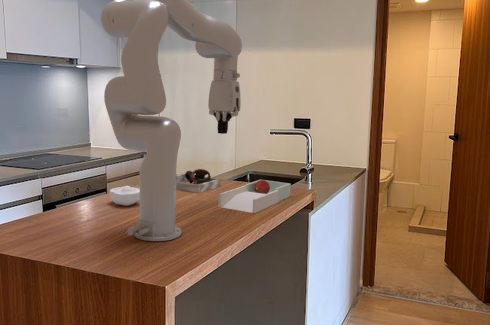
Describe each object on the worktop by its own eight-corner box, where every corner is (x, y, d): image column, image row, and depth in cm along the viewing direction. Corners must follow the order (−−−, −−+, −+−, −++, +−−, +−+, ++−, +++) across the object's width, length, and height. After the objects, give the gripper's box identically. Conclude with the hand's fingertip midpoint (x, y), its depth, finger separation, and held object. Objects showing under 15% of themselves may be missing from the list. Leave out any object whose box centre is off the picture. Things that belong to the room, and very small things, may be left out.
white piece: (254, 216, 150) (255, 199, 150) (218, 209, 157) (218, 193, 156) (277, 205, 166) (278, 190, 165) (243, 199, 173) (244, 185, 172)
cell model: (137, 199, 163) (137, 180, 162) (143, 207, 152) (144, 187, 151) (107, 201, 159) (107, 181, 158) (112, 209, 148) (112, 189, 147)
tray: (276, 202, 166) (277, 188, 165) (244, 197, 172) (245, 184, 172) (290, 196, 177) (290, 183, 176) (260, 191, 183) (260, 179, 182)
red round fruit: (264, 181, 169) (275, 181, 176) (251, 179, 172) (262, 179, 179) (262, 196, 169) (273, 196, 176) (249, 194, 173) (260, 193, 179)
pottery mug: (214, 186, 194) (216, 171, 189) (204, 199, 187) (205, 184, 182) (189, 176, 197) (190, 161, 191) (178, 189, 190) (178, 174, 184)
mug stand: (198, 193, 177) (198, 185, 176) (158, 186, 186) (159, 179, 185) (221, 186, 192) (221, 179, 191) (183, 180, 200) (184, 173, 200)
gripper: (250, 78, 149) (247, 134, 151) (212, 77, 156) (210, 131, 158) (239, 76, 142) (236, 135, 145) (199, 75, 150) (197, 132, 152)
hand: (222, 133), depth 151 cm, fingers closed
